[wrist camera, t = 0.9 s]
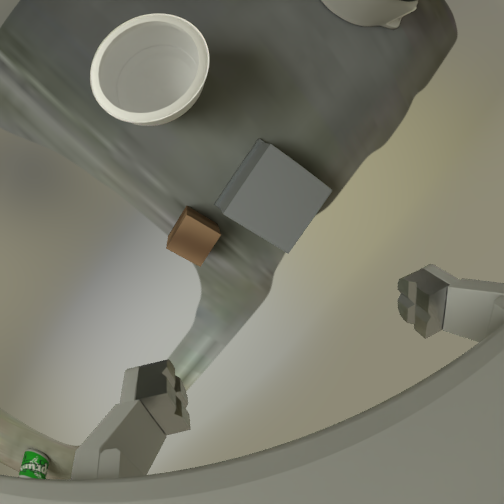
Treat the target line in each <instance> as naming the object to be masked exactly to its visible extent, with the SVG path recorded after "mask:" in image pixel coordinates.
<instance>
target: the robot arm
mask: <svg viewBox="0 0 504 504" xmlns="http://www.w3.org/2000/svg"><path fill="white" fill-rule="evenodd" d="M321 1H322V2H323V3H324V4H325V6H326V7H327V8H328V9H330V10H331V11H332V12H333V13H334V14H336V15H337V16H339V17H340V18H342V19H344V20H346V21H348V22H350V23H353V24H356V25H360V26H383V27H386V28H389V29H395V28H397V27H398V26H399V24H400V22H401V19H402V16H404V15H406V14H409V13H411V12H413V11H415V10H416V9H417V7H416V6H417V4H418V0H321ZM398 290H399V291H400V293H401V294H400V296H399V298H398V309H399V312H400V315H401V317H402V318H403V319H404V320H405V321H406V322H407V323H410V324H414V329H415V330H416V331H417V332H418V333H419V334H421V335H422V336H423V337H424V338H425V339H426V338H428V337H430V336H431V335H433V334H435V333H437V332H439V331H440V330H442V329H443V331H446V332H449V333H452V334H456V335H459V336H462V337H465V338H468V339H471V340H474V341H477V342H479V343H478V344H477V345H475V346H474V347H473V348H471V349H470V350H468V351H467V352H465V353H464V354H462V355H461V356H460V357H459V358H457V359H455V360H454V361H452V362H451V363H449V364H448V365H446V366H445V367H443V368H441V369H440V370H438V371H437V372H435V373H433V374H432V375H430V376H429V377H427V378H425V379H424V380H422V381H420V382H419V383H417V384H415V385H414V386H412V387H410V388H408V389H406V390H404V391H403V392H401V393H399V394H397V395H396V396H393V397H392V398H390V399H388V400H386V401H384V402H382V403H380V404H378V405H376V406H374V407H372V408H370V409H368V410H366V411H364V412H362V413H360V414H357V415H355V416H353V417H351V418H348V419H346V420H344V421H342V422H339V423H337V424H334V425H332V426H330V427H327V428H325V429H323V430H320V431H317V432H315V433H312V434H310V435H307V436H304V437H301V438H299V439H296V440H293V441H290V442H287V443H285V444H281V445H278V446H275V447H272V448H269V449H266V450H263V451H259V452H256V453H252V454H249V455H245V456H242V457H238V458H234V459H230V460H226V461H222V462H218V463H214V464H209V465H204V466H199V467H195V468H190V469H184V470H178V471H172V472H166V473H160V474H152V475H147V473H148V471H149V469H150V467H151V465H152V463H153V461H154V460H155V458H156V456H157V454H158V452H159V450H160V448H161V446H162V444H163V442H164V440H165V439H166V435H169V434H174V433H178V432H182V431H186V430H190V419H189V413H188V412H187V410H186V407H187V405H188V398H187V394H186V390H185V387H184V385H183V383H182V381H181V379H180V378H179V377H177V376H175V368H174V366H173V364H172V363H171V361H170V360H163V361H160V362H155V363H151V364H147V365H142V366H138V367H134V368H130V369H127V370H126V371H125V374H124V380H123V386H122V392H121V399H120V404H116V405H115V406H114V407H113V408H112V409H111V411H110V412H109V413H108V414H107V415H106V416H105V418H104V419H103V420H102V421H101V422H100V423H99V425H98V426H97V427H96V428H95V429H94V430H93V432H92V433H91V434H90V435H89V436H88V437H87V439H86V440H85V441H84V442H83V443H82V444H81V445H80V447H79V448H78V449H77V450H76V452H75V458H74V463H73V469H72V475H71V480H57V479H36V478H24V477H14V476H6V475H0V504H504V283H497V282H489V281H480V280H472V279H461V280H460V279H458V278H456V277H454V276H453V275H451V274H449V273H447V272H446V271H444V270H442V269H441V268H439V267H437V266H436V265H433V264H429V265H427V266H425V267H424V268H421V269H420V270H418V271H416V272H414V273H411V274H409V275H407V276H405V277H403V278H401V279H399V282H398Z"/></svg>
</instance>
